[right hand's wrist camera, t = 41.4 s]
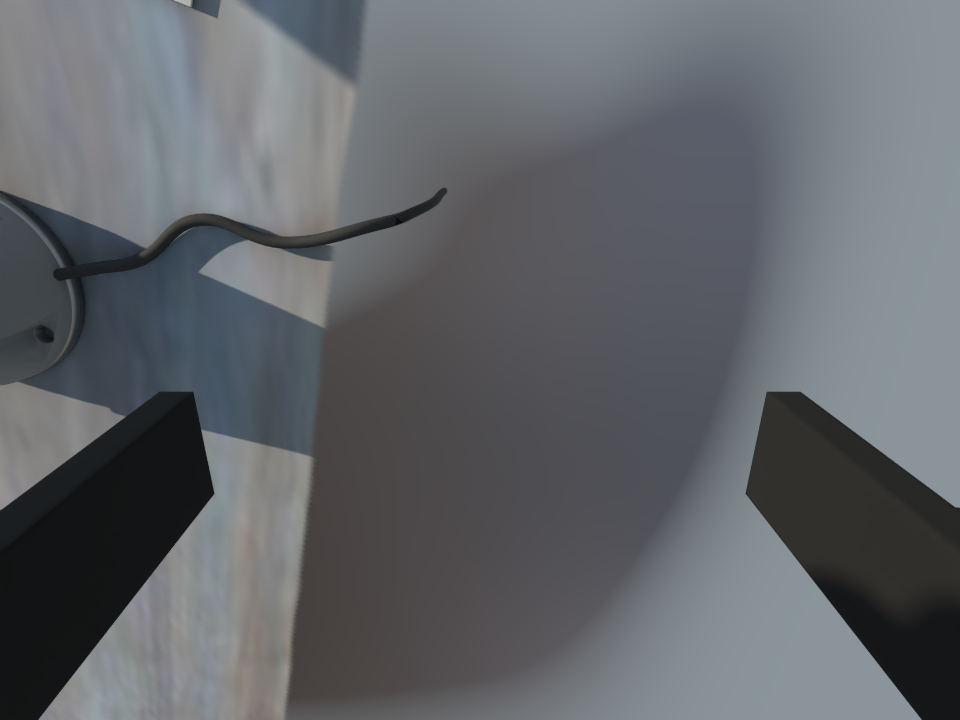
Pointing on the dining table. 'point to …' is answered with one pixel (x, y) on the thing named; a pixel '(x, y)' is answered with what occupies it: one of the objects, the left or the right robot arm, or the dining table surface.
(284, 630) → the dining table surface
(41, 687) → the right robot arm
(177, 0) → the invitation card
